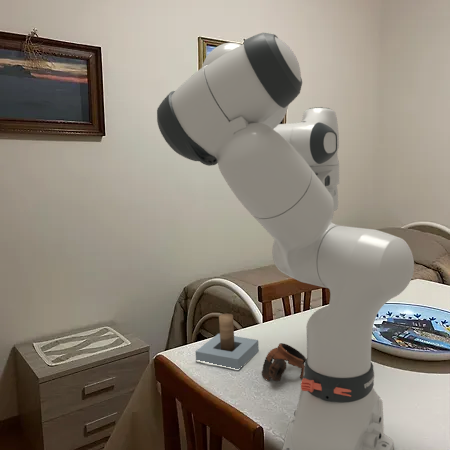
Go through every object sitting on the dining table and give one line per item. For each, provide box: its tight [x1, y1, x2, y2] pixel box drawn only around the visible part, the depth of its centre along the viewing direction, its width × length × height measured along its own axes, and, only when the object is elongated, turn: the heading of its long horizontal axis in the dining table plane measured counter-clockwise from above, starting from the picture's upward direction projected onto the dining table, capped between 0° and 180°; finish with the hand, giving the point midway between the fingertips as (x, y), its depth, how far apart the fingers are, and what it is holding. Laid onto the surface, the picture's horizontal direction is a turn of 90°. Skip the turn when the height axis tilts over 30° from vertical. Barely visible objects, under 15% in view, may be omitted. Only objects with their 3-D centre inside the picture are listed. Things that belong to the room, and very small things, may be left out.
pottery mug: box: [261, 343, 307, 382], centre depth 105 cm, size 12×10×8 cm
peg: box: [218, 313, 235, 352], centre depth 117 cm, size 4×4×11 cm
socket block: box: [195, 333, 260, 369], centre depth 117 cm, size 12×12×3 cm
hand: (321, 233), depth 112 cm, fingers open, 8 cm apart
